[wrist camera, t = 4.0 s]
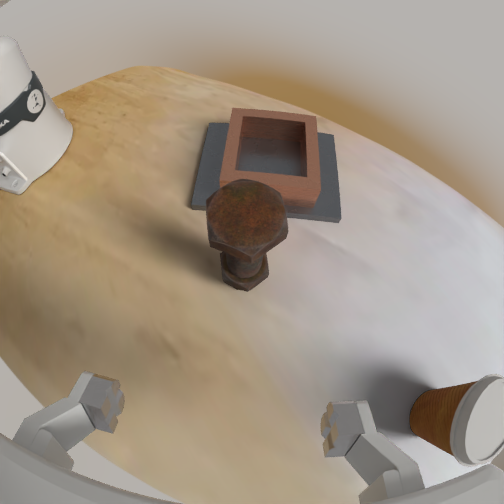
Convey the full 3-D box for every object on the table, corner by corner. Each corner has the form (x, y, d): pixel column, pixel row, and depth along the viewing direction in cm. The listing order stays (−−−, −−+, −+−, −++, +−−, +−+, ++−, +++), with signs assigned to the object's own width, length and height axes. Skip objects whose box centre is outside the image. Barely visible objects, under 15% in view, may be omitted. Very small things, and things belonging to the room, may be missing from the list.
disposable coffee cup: (430, 362, 29) (497, 353, 18) (465, 402, 27) (529, 403, 16) (383, 423, 27) (445, 443, 16) (424, 460, 25) (484, 482, 13)
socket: (192, 209, 35) (185, 186, 31) (210, 128, 41) (207, 102, 36) (338, 222, 36) (351, 201, 31) (331, 140, 41) (340, 115, 36)
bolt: (218, 256, 33) (204, 179, 19) (262, 251, 34) (277, 172, 20) (223, 306, 31) (209, 259, 17) (270, 301, 32) (293, 250, 18)
